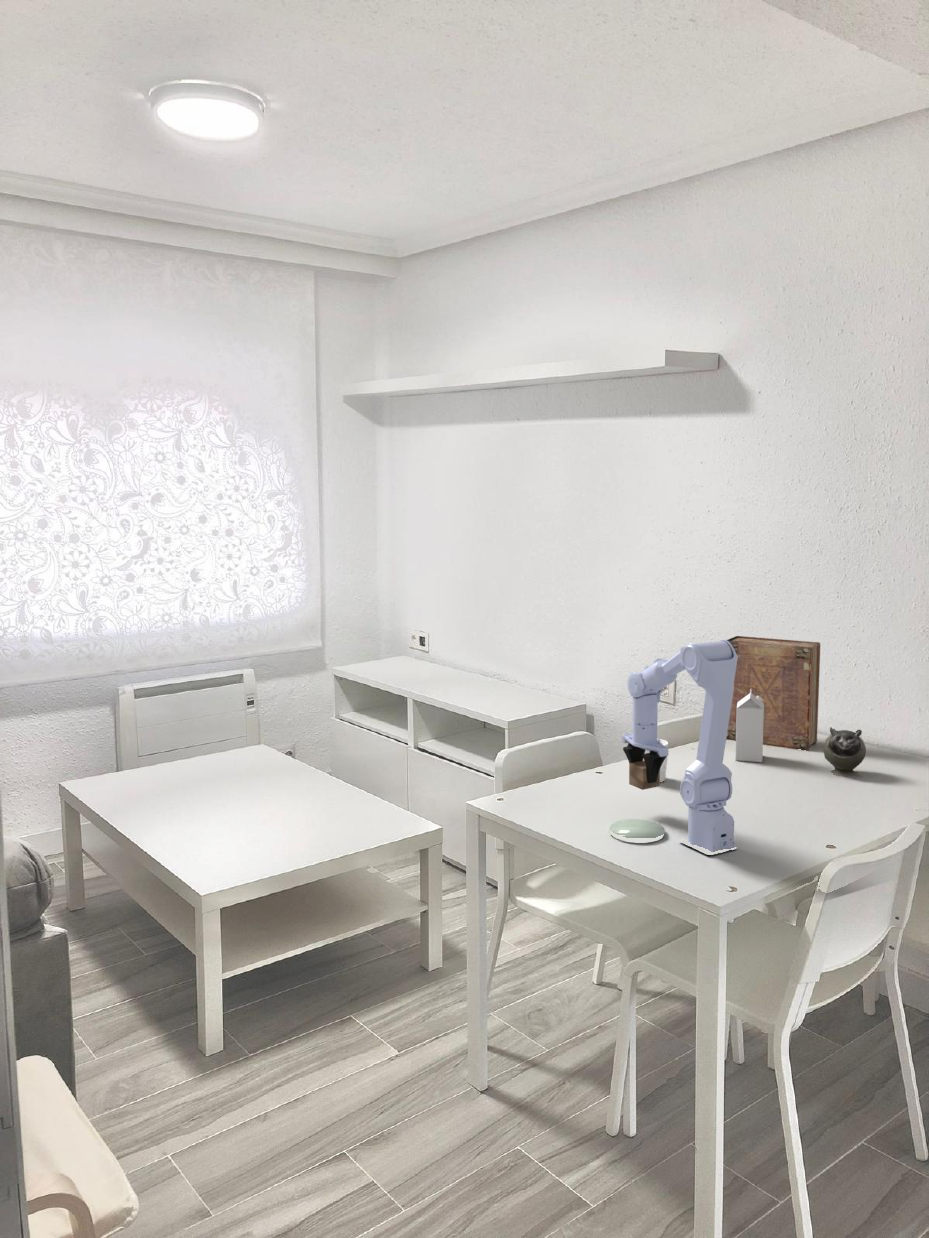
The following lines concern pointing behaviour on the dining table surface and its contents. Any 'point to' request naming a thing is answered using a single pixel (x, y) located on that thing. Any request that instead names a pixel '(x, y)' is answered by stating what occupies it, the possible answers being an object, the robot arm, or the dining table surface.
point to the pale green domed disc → (637, 828)
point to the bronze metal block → (641, 776)
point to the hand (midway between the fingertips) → (644, 779)
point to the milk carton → (749, 729)
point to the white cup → (664, 764)
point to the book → (779, 688)
